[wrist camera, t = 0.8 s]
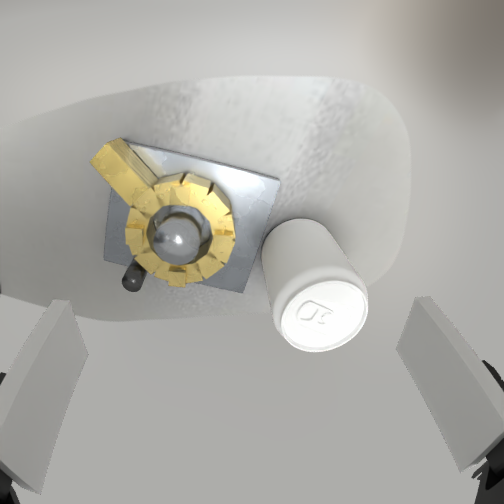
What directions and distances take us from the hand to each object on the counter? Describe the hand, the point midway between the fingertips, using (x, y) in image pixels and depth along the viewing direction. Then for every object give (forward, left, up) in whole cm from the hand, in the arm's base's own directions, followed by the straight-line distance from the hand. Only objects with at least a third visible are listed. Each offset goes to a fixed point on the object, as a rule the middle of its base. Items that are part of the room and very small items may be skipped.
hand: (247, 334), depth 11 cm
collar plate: (-4, -5, -22) cm, 23 cm away
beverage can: (+9, -5, -22) cm, 24 cm away
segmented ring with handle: (-6, -3, -21) cm, 22 cm away
